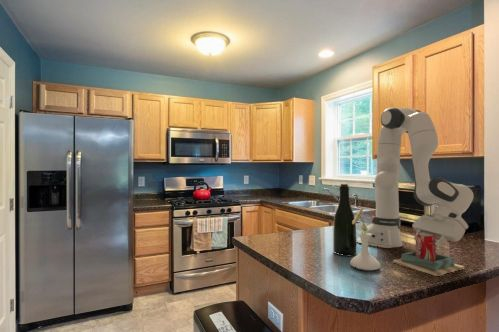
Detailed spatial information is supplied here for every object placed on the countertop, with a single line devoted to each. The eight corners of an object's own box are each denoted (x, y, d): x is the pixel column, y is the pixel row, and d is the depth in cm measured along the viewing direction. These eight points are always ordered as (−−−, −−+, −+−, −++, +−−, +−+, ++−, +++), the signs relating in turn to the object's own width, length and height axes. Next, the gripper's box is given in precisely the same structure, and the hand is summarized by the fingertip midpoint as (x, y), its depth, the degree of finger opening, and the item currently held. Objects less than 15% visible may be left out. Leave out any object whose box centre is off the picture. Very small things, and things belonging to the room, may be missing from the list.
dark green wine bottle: (334, 249, 142) (333, 183, 143) (356, 251, 139) (356, 183, 139) (332, 255, 133) (331, 184, 133) (356, 257, 129) (355, 184, 129)
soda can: (411, 260, 121) (411, 231, 121) (427, 259, 121) (427, 231, 122) (423, 266, 114) (423, 235, 114) (440, 265, 114) (440, 235, 114)
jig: (436, 277, 105) (436, 265, 105) (393, 263, 121) (392, 253, 121) (464, 269, 113) (463, 258, 113) (419, 256, 130) (419, 247, 130)
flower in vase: (355, 261, 124) (355, 203, 124) (384, 267, 116) (383, 205, 117) (344, 269, 114) (343, 207, 114) (374, 276, 106) (373, 209, 107)
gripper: (420, 209, 129) (402, 232, 127) (463, 216, 109) (443, 243, 107) (428, 218, 130) (410, 241, 128) (472, 227, 111) (452, 254, 108)
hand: (425, 242), depth 117 cm, fingers open, 8 cm apart
